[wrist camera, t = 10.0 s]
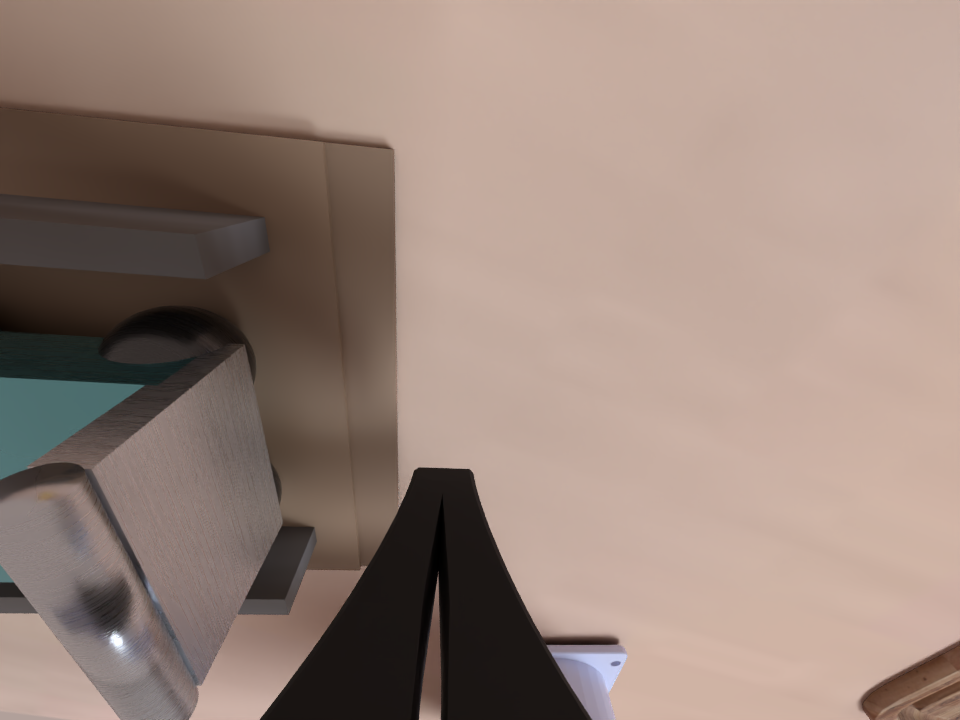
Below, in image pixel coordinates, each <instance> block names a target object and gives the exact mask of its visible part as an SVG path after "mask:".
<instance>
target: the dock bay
mask: <svg viewBox="0 0 960 720" xmlns="http://www.w3.org/2000/svg"><path fill="white" fill-rule="evenodd" d="M169 305H179V306H191V307H197V308H201V309H205V310H208V311H211V312H213V313H216V314H218V315H220V316H222V317H224V318H225V319H227V320H229V321H230V322H232V323H233V324H234V325H235V326H236V327H238V328H239V329H240V330H241V331H242V332H243V334H244V335H245V336H246V338H247V339H248V341H249V342H250V344H251V346H252V349H253V351H254V354H255V358H256V377H255V382H254V390H255V395H256V399H257V404H258V408H259V413H260V418H261V422H262V427H263V432H264V436H265V441H266V446H267V450H268V455H269V460H270V462H271V464H272V465H273V466H274V467H275V469H276V471H277V472H278V475H279V477H280V481H281V487H282V496H281V502H280V511H281V515H282V520H283V524H282V526H281V528H280V530H279V532H278V534H277V536H276V538H275V540H274V542H273V544H272V546H271V548H270V550H269V552H268V554H267V556H266V558H265V560H264V562H263V564H262V566H261V568H260V570H259V572H258V574H257V576H256V578H255V580H254V582H253V584H252V586H251V588H250V590H249V592H248V594H247V596H246V598H245V600H244V602H243V604H242V606H241V608H240V610H239V612H238V614H267V615H289V612H290V610H291V607H292V604H293V602H294V599H295V597H296V594H297V592H298V589H299V586H300V584H301V581H302V579H303V576H304V573H305V571H306V569H307V570H360V567H361V566H368V565H369V563H370V561H371V560H372V558H373V556H374V555H375V553H376V551H377V550H378V548H379V546H380V544H381V542H382V541H383V539H384V537H385V535H386V533H387V531H388V529H389V527H390V525H391V524H392V522H393V520H394V518H395V516H396V514H397V512H398V444H397V355H396V266H395V177H394V150H393V149H384V148H374V147H365V146H355V145H346V144H337V143H327V142H320V141H311V140H301V139H292V138H283V137H273V136H264V135H254V134H245V133H236V132H226V131H217V130H208V129H198V128H189V127H179V126H170V125H161V124H151V123H142V122H132V121H123V120H114V119H104V118H95V117H85V116H76V115H67V114H57V113H48V112H38V111H29V110H20V109H10V108H1V107H0V329H1V330H2V331H4V332H21V333H37V334H53V335H69V336H85V337H101V338H104V337H105V336H106V335H107V334H108V332H110V331H111V330H112V329H113V328H114V327H115V326H116V325H117V324H119V323H120V322H121V321H123V320H124V319H126V318H128V317H130V316H131V315H134V314H136V313H138V312H141V311H144V310H147V309H151V308H155V307H161V306H169ZM0 613H38V612H37V611H36V610H35V609H34V607H33V606H32V605H31V603H30V602H29V601H28V600H27V598H26V597H25V596H24V594H23V593H22V592H21V591H20V589H19V588H18V587H17V585H16V584H15V583H14V582H0Z"/></svg>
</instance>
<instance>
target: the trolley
mask: <svg viewBox="0 0 960 720" xmlns="http://www.w3.org/2000/svg"><path fill="white" fill-rule="evenodd" d="M255 377H256V358H255V354H254V351H253V349H252V346H251V344H250V342H249V341H248V339H247V338H246V336H245V335H244V334H243V332H242V331H241V330H240V329H239V328H238V327H236V326H235V325H234V324H233V323H232V322H230V321H229V320H227V319H225V318H224V317H222V316H220V315H218V314H216V313H213V312H211V311H208V310H205V309H201V308H197V307H191V306H179V305H169V306H161V307H155V308H151V309H147V310H144V311H141V312H138V313H136V314H134V315H131V316H130V317H128V318H126V319H124V320H123V321H121V322H120V323H119V324H117V325H116V326H115V327H114V328H113V329H112V330H111V331H110V332H108V334H107V335H106V336H105V337H104V338H101V337H85V336H69V335H53V334H37V333H21V332H4V331H2V330H1V329H0V582H14V583H15V584H16V585H17V587H18V588H19V589H20V591H21V592H22V593H23V594H24V596H25V597H26V598H27V600H28V601H29V602H30V603H31V605H32V606H33V607H34V609H35V610H36V611H37V612H38V614H39V615H40V616H41V618H42V619H43V620H44V621H45V623H46V624H47V625H48V627H49V628H50V629H51V631H52V632H53V633H54V634H55V636H56V637H57V638H58V640H59V641H60V642H61V643H62V645H63V646H64V647H65V649H66V650H67V651H68V652H69V654H70V655H71V656H72V658H73V659H74V660H75V661H76V663H77V664H78V665H79V667H80V668H81V669H82V671H83V672H84V673H85V674H86V676H87V677H88V678H89V680H90V681H91V682H92V683H93V685H94V686H95V687H96V689H97V690H98V691H99V692H100V694H101V695H102V696H103V698H104V699H105V700H106V701H107V703H108V704H109V705H110V707H111V708H112V709H113V710H114V712H115V713H116V714H117V716H118V717H119V718H120V720H189V718H190V717H191V715H192V713H193V712H194V710H195V707H196V705H197V702H198V695H199V694H198V688H197V686H201V685H202V683H203V681H204V679H205V677H206V675H207V673H208V671H209V669H210V667H211V665H212V663H213V661H214V659H215V657H216V655H217V653H218V651H219V650H220V648H221V646H222V644H223V642H224V640H225V638H226V636H227V634H228V632H229V630H230V628H231V626H232V624H233V622H234V620H235V618H236V616H237V614H238V612H239V610H240V608H241V606H242V604H243V602H244V600H245V598H246V596H247V594H248V592H249V590H250V588H251V586H252V584H253V582H254V580H255V578H256V576H257V574H258V572H259V570H260V568H261V566H262V564H263V562H264V560H265V558H266V556H267V554H268V552H269V550H270V548H271V546H272V544H273V542H274V540H275V538H276V536H277V534H278V532H279V530H280V528H281V526H282V524H283V520H282V515H281V511H280V502H281V496H282V487H281V481H280V477H279V475H278V472H277V471H276V469H275V467H274V466H273V465H272V464H271V462H270V460H269V455H268V450H267V446H266V441H265V436H264V432H263V427H262V422H261V418H260V413H259V408H258V404H257V399H256V395H255V390H254V382H255Z"/></svg>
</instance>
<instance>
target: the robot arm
mask: <svg viewBox="0 0 960 720" xmlns="http://www.w3.org/2000/svg"><path fill="white" fill-rule="evenodd" d="M438 574H439V611H440V647H441V720H616V719H615V715H614V712H613V708H612V704H611V701H610V697H609V692H610V690H611V688H612V686H613V684H614V682H615V680H616V678H617V676H618V674H619V672H620V670H621V669H622V667H623V665H624V663H625V661H626V659H627V656H628V655H627V652H626V650H625V648H624V647H623V646H621V645H546V644H545V642H544V640H543V638H542V636H541V635H540V633H539V631H538V629H537V628H536V626H535V624H534V622H533V620H532V618H531V616H530V615H529V613H528V611H527V609H526V607H525V605H524V603H523V601H522V599H521V597H520V595H519V593H518V591H517V589H516V587H515V585H514V583H513V581H512V579H511V576H510V574H509V572H508V570H507V568H506V566H505V563H504V561H503V559H502V557H501V554H500V552H499V550H498V547H497V545H496V542H495V540H494V538H493V535H492V533H491V530H490V528H489V525H488V522H487V520H486V517H485V514H484V511H483V508H482V505H481V502H480V499H479V496H478V492H477V489H476V484H475V480H474V475H473V472H472V471H471V470H470V469H449V468H418V469H416V470H415V471H414V473H413V476H412V479H411V482H410V485H409V487H408V490H407V492H406V495H405V497H404V499H403V501H402V503H401V506H400V508H399V510H398V512H397V514H396V516H395V518H394V520H393V522H392V524H391V525H390V527H389V529H388V531H387V533H386V535H385V537H384V539H383V541H382V542H381V544H380V546H379V548H378V550H377V551H376V553H375V555H374V556H373V558H372V560H371V561H370V563H369V565H368V566H367V568H366V570H365V571H364V573H363V575H362V576H361V578H360V580H359V581H358V583H357V585H356V586H355V588H354V589H353V591H352V593H351V594H350V596H349V597H348V599H347V600H346V602H345V603H344V605H343V606H342V608H341V609H340V611H339V612H338V614H337V615H336V617H335V618H334V620H333V621H332V623H331V624H330V626H329V627H328V628H327V630H326V631H325V633H324V634H323V636H322V637H321V639H320V640H319V641H318V643H317V644H316V646H315V647H314V648H313V650H312V651H311V653H310V654H309V655H308V657H307V658H306V659H305V661H304V662H303V663H302V665H301V666H300V667H299V669H298V670H297V671H296V673H295V674H294V675H293V677H292V678H291V679H290V681H289V682H288V684H287V685H286V686H285V688H284V689H283V690H282V692H281V693H280V694H279V695H278V697H277V698H276V699H275V701H274V702H273V703H272V705H271V706H270V707H269V708H268V710H267V711H266V712H265V714H264V715H263V716H262V717H261V719H260V720H419V711H420V701H421V692H422V683H423V675H424V668H425V661H426V654H427V647H428V640H429V633H430V626H431V619H432V612H433V605H434V598H435V591H436V584H437V577H438Z"/></svg>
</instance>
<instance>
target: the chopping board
mask: <svg viewBox="0 0 960 720" xmlns="http://www.w3.org/2000/svg"><path fill="white" fill-rule="evenodd" d="M863 709H864V712H865V713H866V715H867V716H868V717H869V719H870V720H960V646H958V647H956V648H954V649H952V650H950V651H948V652H946V653H944V654H942V655H941V656H939V657H937V658H935V659H933V660H931V661H929V662H927V663H925V664H923V665H921V666H919V667H918V668H916V669H914V670H912V671H910V672H908V673H906V674H904V675H902V676H900V677H898V678H896V679H894V680H893V681H891V682H889V683H887V684H885V685H883V686H882V687H880V688H879V689H877V690H876V691H874V692H873V693H871V694H870V695H869V696H868V698H867V699H866V700H865V701H864V703H863Z"/></svg>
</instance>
